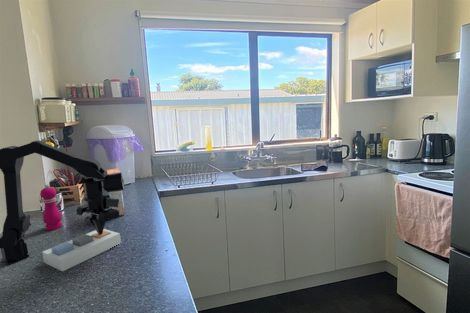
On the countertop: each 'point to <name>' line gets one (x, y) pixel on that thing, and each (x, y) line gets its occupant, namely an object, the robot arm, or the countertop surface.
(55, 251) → the key slate
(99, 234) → the tan square block
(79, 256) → the keypad
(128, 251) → the countertop surface
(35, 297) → the countertop surface
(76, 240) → the key charcoal
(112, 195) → the cracker box
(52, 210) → the pepper mill
